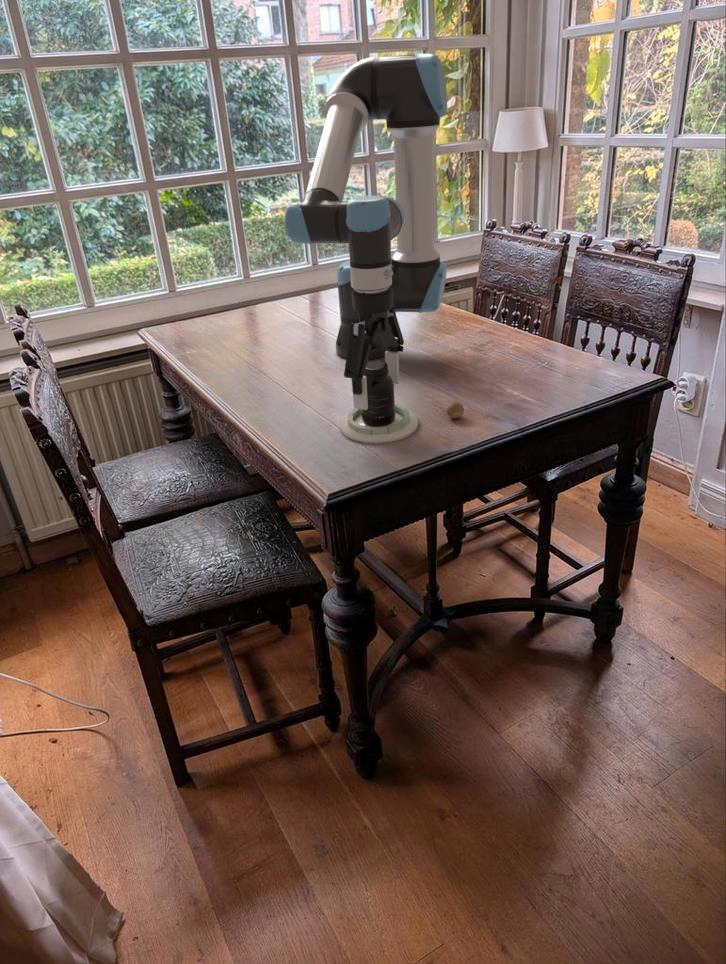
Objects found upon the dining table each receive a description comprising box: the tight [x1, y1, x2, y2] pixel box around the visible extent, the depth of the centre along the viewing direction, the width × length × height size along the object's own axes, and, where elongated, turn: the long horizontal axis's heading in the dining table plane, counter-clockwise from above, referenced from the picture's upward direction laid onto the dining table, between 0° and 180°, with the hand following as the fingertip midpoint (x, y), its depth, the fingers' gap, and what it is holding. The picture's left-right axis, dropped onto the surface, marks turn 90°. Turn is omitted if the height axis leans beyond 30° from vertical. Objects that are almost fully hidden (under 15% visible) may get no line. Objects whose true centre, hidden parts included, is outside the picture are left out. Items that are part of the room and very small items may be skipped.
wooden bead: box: [446, 401, 465, 420], centre depth 139 cm, size 4×4×4 cm
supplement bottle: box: [361, 360, 396, 427], centre depth 135 cm, size 7×7×12 cm
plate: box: [339, 403, 419, 444], centre depth 138 cm, size 16×16×2 cm
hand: (377, 394), depth 136 cm, fingers open, 13 cm apart
